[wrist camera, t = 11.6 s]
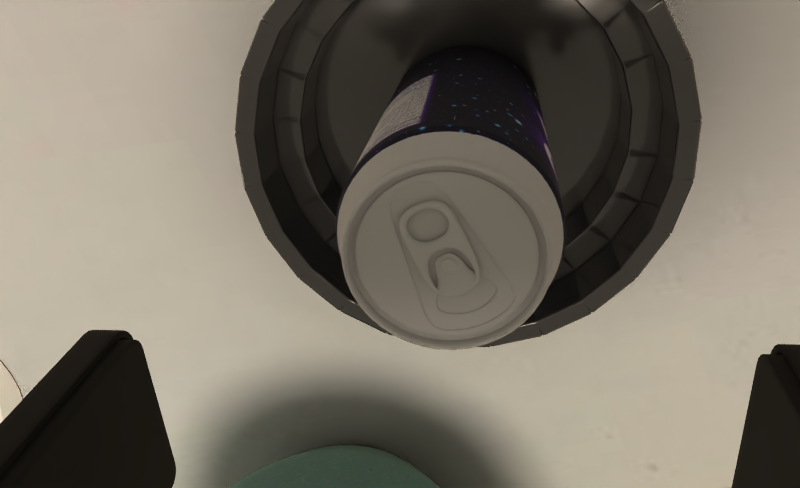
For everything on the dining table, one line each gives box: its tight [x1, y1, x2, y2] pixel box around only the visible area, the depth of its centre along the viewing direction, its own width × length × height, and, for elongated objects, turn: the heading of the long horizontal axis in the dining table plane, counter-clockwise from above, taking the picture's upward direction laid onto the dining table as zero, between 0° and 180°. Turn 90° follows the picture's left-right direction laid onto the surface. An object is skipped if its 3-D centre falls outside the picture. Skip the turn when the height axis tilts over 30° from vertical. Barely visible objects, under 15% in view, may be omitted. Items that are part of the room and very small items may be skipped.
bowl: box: [235, 0, 702, 347], centre depth 25 cm, size 15×15×5 cm
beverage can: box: [335, 47, 566, 350], centre depth 21 cm, size 6×6×12 cm
